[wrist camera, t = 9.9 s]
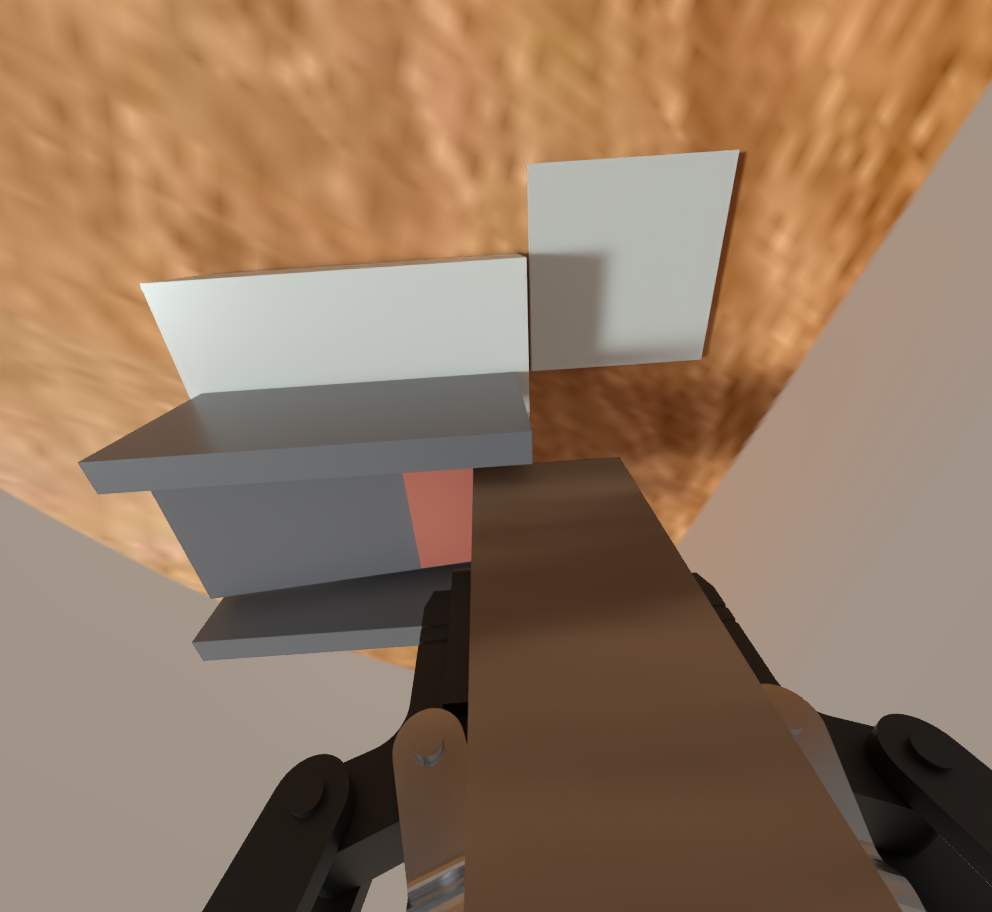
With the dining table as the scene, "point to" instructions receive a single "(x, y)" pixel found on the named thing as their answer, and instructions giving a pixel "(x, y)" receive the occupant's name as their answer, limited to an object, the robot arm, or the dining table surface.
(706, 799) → the peg
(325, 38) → the dining table surface
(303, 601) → the grey slotted holder
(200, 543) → the rocker
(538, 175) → the mat
